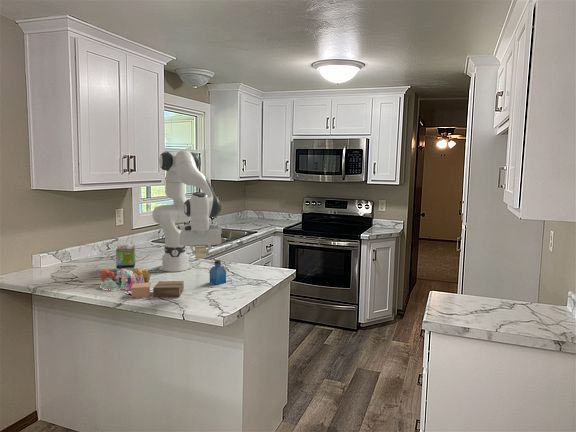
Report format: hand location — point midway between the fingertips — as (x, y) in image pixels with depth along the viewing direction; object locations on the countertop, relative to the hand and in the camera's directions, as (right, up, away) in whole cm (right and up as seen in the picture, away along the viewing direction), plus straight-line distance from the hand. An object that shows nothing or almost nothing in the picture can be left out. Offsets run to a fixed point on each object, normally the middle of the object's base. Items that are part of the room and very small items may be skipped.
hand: (200, 254), depth 219 cm
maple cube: (0, -2, 0) cm, 2 cm away
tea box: (-52, -14, +43) cm, 69 cm away
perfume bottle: (+6, -17, +19) cm, 26 cm away
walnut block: (-15, -20, -2) cm, 25 cm away
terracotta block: (-28, -20, -4) cm, 34 cm away
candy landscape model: (-41, -18, +13) cm, 47 cm away
